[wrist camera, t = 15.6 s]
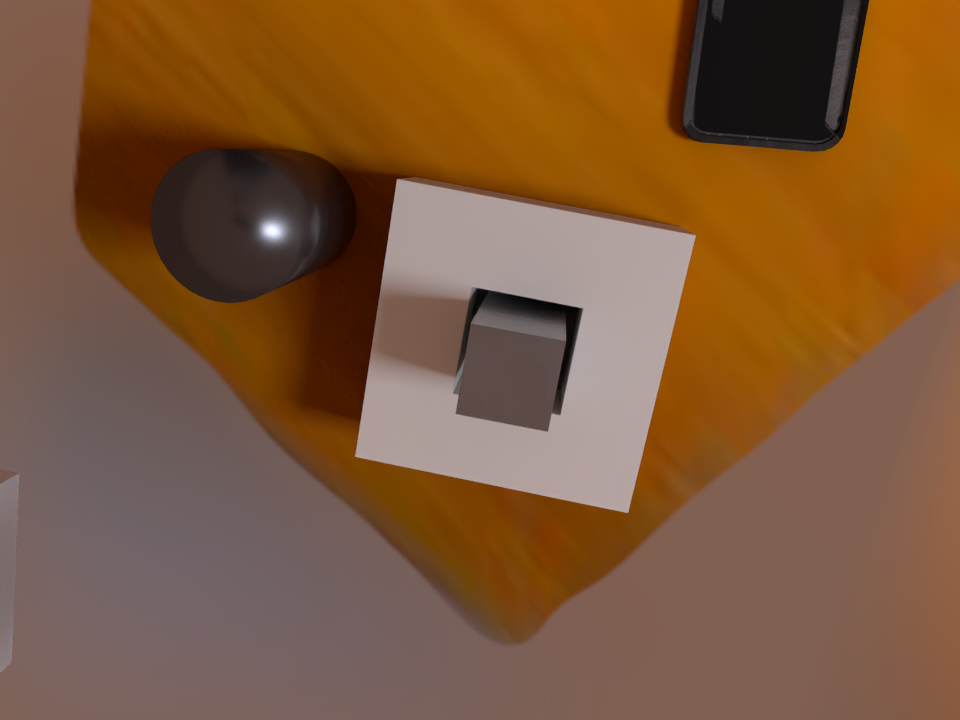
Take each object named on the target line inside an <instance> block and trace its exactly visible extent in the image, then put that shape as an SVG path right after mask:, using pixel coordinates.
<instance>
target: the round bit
mask: <svg viewBox="0 0 960 720" xmlns="http://www.w3.org/2000/svg"><path fill="white" fill-rule="evenodd" d="M355 226H356V205H355V200H354V196H353V193H352V191H351V189H350V186H349V184H348V183H347V181H346V179H345V178H344V177H343V175H342V174H341V173H340V172H339V171H338V170H337V169H336V168H335V167H334V166H333V165H332V164H330V163H329V162H328V161H326V160H324V159H323V158H321V157H319V156H316V155H314V154H310V153H306V152H299V151H272V150H242V149H209V150H203V151H200V152H196V153H193V154H191V155H189V156H187V157H185V158H183V159H182V160H181V161H179V162H178V163H176V164H175V165H174V166H173V167H172V168H171V169H170V170H169V171H168V172H167V173H166V175H165V176H164V177H163V179H162V181H161V182H160V184H159V186H158V188H157V190H156V193H155V196H154V199H153V203H152V209H151V230H152V236H153V240H154V244H155V247H156V249H157V252H158V254H159V256H160V258H161V260H162V262H163V263H164V265H165V266H166V268H167V269H168V271H169V272H170V273H171V274H172V276H173V277H174V278H175V279H176V280H177V281H178V282H180V283H181V284H182V285H183V286H184V287H186V288H187V289H189V290H190V291H192V292H193V293H195V294H197V295H199V296H202V297H204V298H206V299H210V300H213V301H218V302H226V303H236V302H243V301H247V300H251V299H254V298H257V297H259V296H261V295H263V294H266V293H268V292H270V291H272V290H274V289H277V288H279V287H281V286H283V285H286V284H288V283H290V282H292V281H294V280H297V279H299V278H301V277H303V276H306V275H308V274H310V273H312V272H315V271H317V270H319V269H321V268H323V267H326V266H328V265H329V264H331V263H333V262H334V261H335V260H336V259H338V258H339V257H340V256H341V255H342V253H343V252H344V251H345V250H346V248H347V247H348V245H349V243H350V241H351V239H352V237H353V234H354V231H355Z"/></svg>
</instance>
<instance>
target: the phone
mask: <svg viewBox="0 0 960 720" xmlns="http://www.w3.org/2000/svg"><path fill="white" fill-rule="evenodd" d="M868 3H869V0H697V7H696V15H695V22H694V29H693V36H692V44H691V51H690V58H689V66H688V73H687V80H686V88H685V95H684V102H683V109H682V126H683V129H684V131H685V133H686V134H687V135H688V137H690V138H691V139H693V140H695V141H698V142H704V143H716V144H728V145H740V146H752V147H764V148H776V149H788V150H800V151H825V150H827V149H830V148H832V147H833V146H835V145H836V144H837V143H838V142H839V141H840V139H841V138H842V137H843V134H844V131H845V128H846V123H847V117H848V112H849V107H850V101H851V96H852V90H853V85H854V79H855V74H856V68H857V63H858V58H859V52H860V47H861V41H862V36H863V30H864V25H865V19H866V14H867V9H868Z"/></svg>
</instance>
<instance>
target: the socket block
mask: <svg viewBox="0 0 960 720" xmlns="http://www.w3.org/2000/svg"><path fill="white" fill-rule="evenodd" d="M695 236H696V235H694V234H692V233H691V232H689V231H687V230H685V229H684V228H682V227H679V226H674V225H668V224H663V223H658V222H652V221H647V220H642V219H636V218H631V217H626V216H621V215H615V214H610V213H605V212H599V211H594V210H589V209H583V208H578V207H573V206H567V205H562V204H557V203H551V202H546V201H541V200H535V199H530V198H525V197H520V196H514V195H509V194H504V193H498V192H493V191H488V190H482V189H477V188H472V187H466V186H461V185H456V184H450V183H445V182H440V181H434V180H429V179H424V178H419V177H411V178H402V179H397V183H396V190H395V196H394V203H393V210H392V216H391V223H390V230H389V236H388V243H387V250H386V256H385V263H384V269H383V276H382V283H381V289H380V296H379V303H378V309H377V316H376V323H375V329H374V336H373V343H372V349H371V356H370V363H369V369H368V376H367V382H366V389H365V396H364V402H363V409H362V416H361V422H360V429H359V436H358V442H357V449H356V456H355V457H359V458H364V459H369V460H374V461H378V462H383V463H388V464H393V465H398V466H403V467H408V468H412V469H417V470H422V471H427V472H432V473H437V474H441V475H446V476H451V477H456V478H461V479H466V480H470V481H475V482H480V483H485V484H490V485H495V486H500V487H504V488H509V489H514V490H519V491H524V492H529V493H533V494H538V495H543V496H548V497H553V498H558V499H562V500H567V501H572V502H577V503H582V504H587V505H592V506H596V507H601V508H606V509H611V510H616V511H621V512H625V513H628V511H629V507H630V502H631V498H632V494H633V490H634V486H635V482H636V478H637V474H638V470H639V466H640V462H641V457H642V453H643V449H644V445H645V441H646V437H647V433H648V429H649V425H650V421H651V416H652V412H653V408H654V404H655V400H656V396H657V392H658V388H659V384H660V380H661V376H662V371H663V367H664V363H665V359H666V355H667V351H668V347H669V343H670V339H671V335H672V330H673V326H674V322H675V318H676V314H677V310H678V306H679V302H680V298H681V294H682V289H683V285H684V281H685V277H686V273H687V269H688V265H689V261H690V257H691V253H692V249H693V244H694V240H695ZM489 290H491V291H496V292H501V293H507V294H512V295H517V296H522V297H527V298H532V299H538V300H543V301H548V302H553V303H558V304H563V305H565V309H566V345H565V350H564V355H563V360H562V365H561V370H560V375H559V380H558V384H557V389H556V394H555V399H554V404H553V409H552V414H551V419H550V424H549V429H548V432H546V431H541V430H536V429H530V428H525V427H520V426H515V425H510V424H504V423H499V422H494V421H489V420H484V419H479V418H473V417H468V416H463V415H458V414H456V408H457V402H458V396H459V390H460V384H461V378H462V372H463V366H464V360H465V355H466V349H467V343H468V337H469V331H470V325H471V322H472V320H473V319H474V317H475V315H476V313H477V311H478V310H479V308H480V306H481V304H482V302H483V301H484V299H485V297H486V295H487V294H488V292H489Z"/></svg>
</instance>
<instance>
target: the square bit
mask: <svg viewBox="0 0 960 720" xmlns="http://www.w3.org/2000/svg"><path fill="white" fill-rule="evenodd" d="M565 345H566V309H565V305H563V304H558V303H553V302H548V301H543V300H538V299H532V298H527V297H522V296H517V295H512V294H507V293H501V292H496V291H491V290H489V292H488V294H487V295H486V297H485V299H484V301H483V302H482V304H481V306H480V308H479V310H478V311H477V313H476V315H475V317H474V319H473V320H472V322H471V325H470V331H469V337H468V343H467V349H466V355H465V360H464V366H463V372H462V378H461V384H460V390H459V396H458V402H457V408H456V414H458V415H463V416H468V417H473V418H479V419H484V420H489V421H494V422H499V423H504V424H510V425H515V426H520V427H525V428H530V429H536V430H541V431H546V432H548V429H549V424H550V419H551V414H552V409H553V404H554V399H555V394H556V389H557V384H558V380H559V375H560V370H561V365H562V360H563V355H564V350H565Z"/></svg>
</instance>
